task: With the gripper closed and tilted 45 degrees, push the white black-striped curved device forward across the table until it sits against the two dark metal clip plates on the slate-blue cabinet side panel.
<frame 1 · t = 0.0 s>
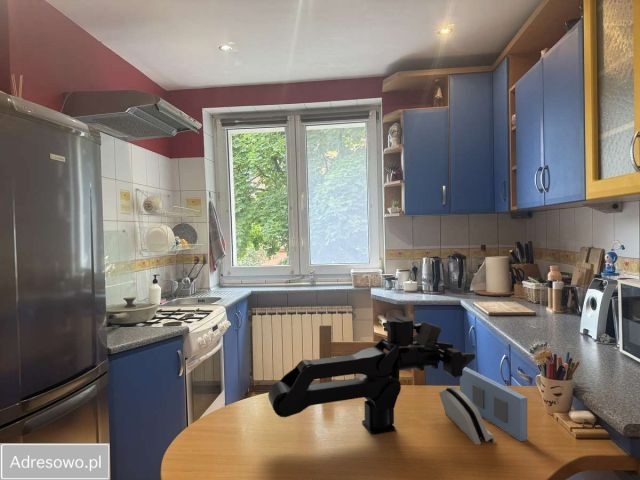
hand: (463, 350, 107), 17 cm above the table, tool horizontal, fingers open, 9 cm apart
white black-striped curved device: (463, 428, 99), on the table
cabinet side panel: (490, 419, 102), on the table
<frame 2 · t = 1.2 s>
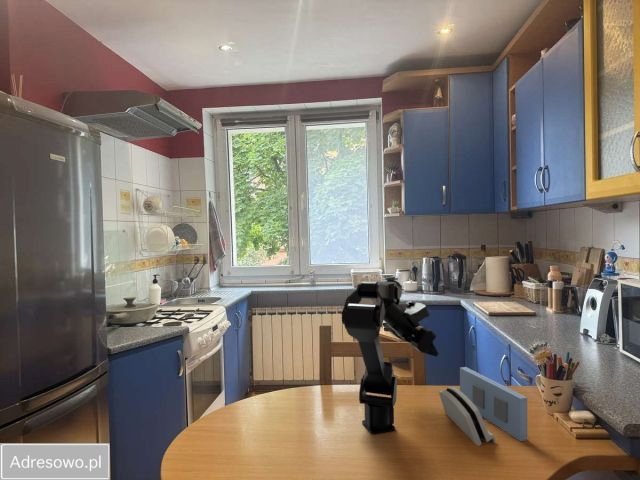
hand: (428, 350, 116), 14 cm above the table, tool tilted 45°, fingers open, 9 cm apart
nothing on the table moved.
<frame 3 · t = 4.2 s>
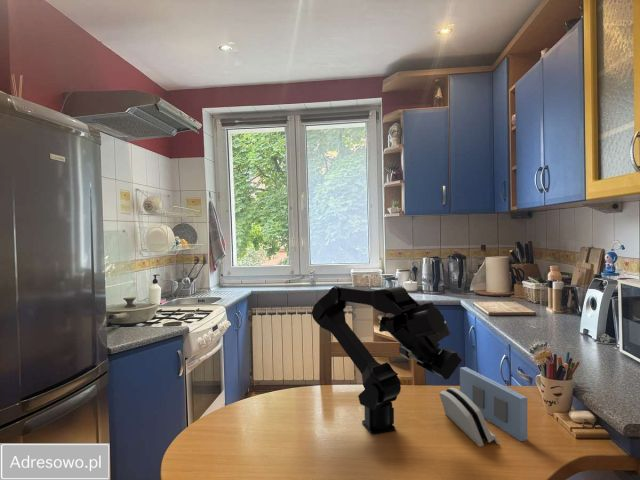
hand: (448, 375, 98), 13 cm above the table, tool tilted 45°, fingers closed
nothing on the table moved.
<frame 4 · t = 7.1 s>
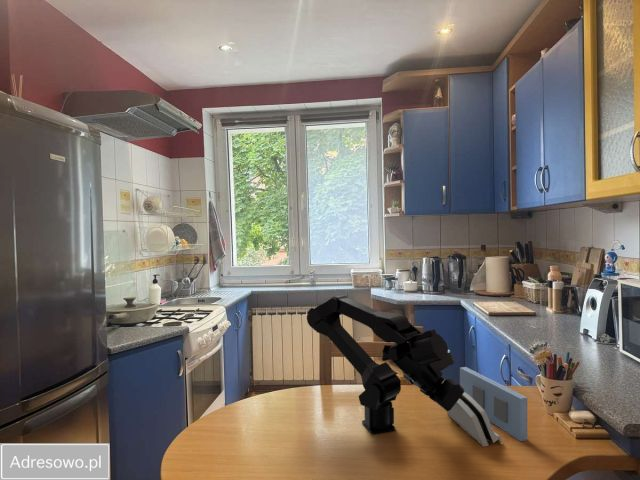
hand: (452, 403, 97), 7 cm above the table, tool tilted 45°, fingers closed
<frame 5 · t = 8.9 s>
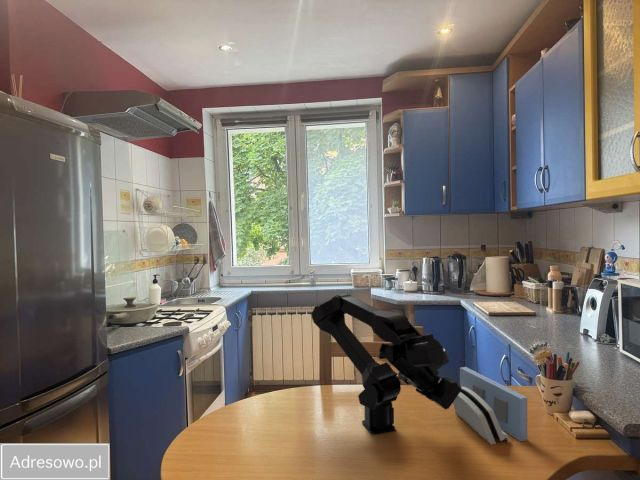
hand: (447, 402, 98), 7 cm above the table, tool tilted 45°, fingers closed
white black-striped curved device: (476, 428, 99), on the table
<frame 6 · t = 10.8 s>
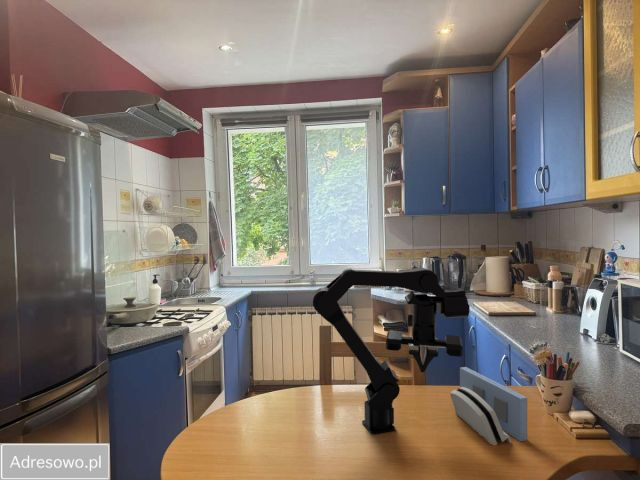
hand: (422, 371, 104), 12 cm above the table, tool pointing down, fingers closed
nothing on the table moved.
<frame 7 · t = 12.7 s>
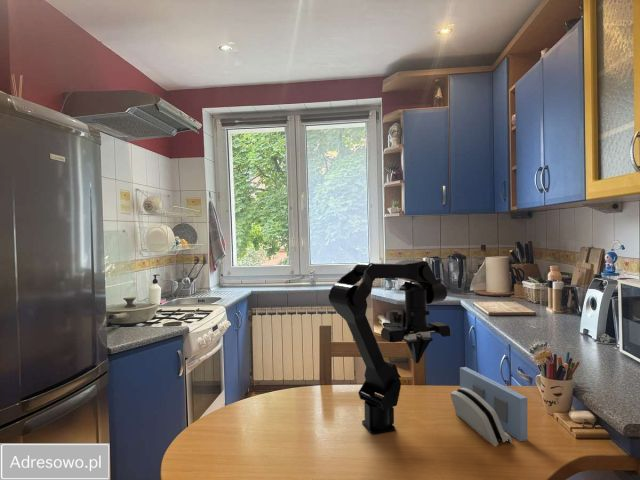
hand: (416, 362, 108), 13 cm above the table, tool pointing down, fingers closed
nothing on the table moved.
at the end: white black-striped curved device 1.9 cm from the target spot, on the table; white black-striped curved device tilted 1° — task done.
